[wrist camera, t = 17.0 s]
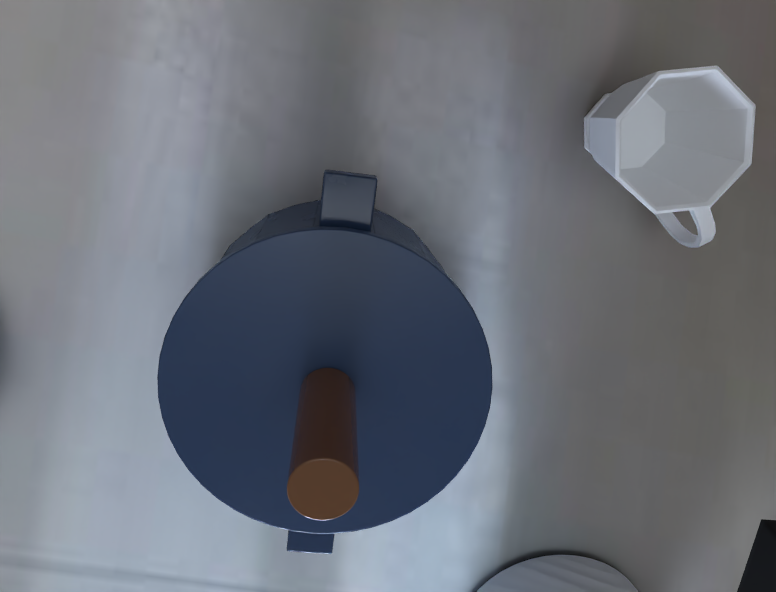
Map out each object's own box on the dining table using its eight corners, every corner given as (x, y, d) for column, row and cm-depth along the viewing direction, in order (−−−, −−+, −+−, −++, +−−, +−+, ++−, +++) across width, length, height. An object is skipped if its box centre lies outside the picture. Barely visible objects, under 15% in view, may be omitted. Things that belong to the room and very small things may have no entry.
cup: (654, 40, 38) (732, 32, 31) (713, 199, 41) (797, 228, 33) (539, 102, 39) (587, 109, 31) (605, 254, 42) (664, 294, 34)
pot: (475, 169, 40) (514, 196, 31) (426, 473, 46) (446, 571, 37) (217, 137, 38) (179, 156, 29) (201, 455, 44) (164, 553, 35)
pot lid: (513, 243, 32) (578, 306, 23) (460, 529, 37) (497, 672, 28) (168, 204, 30) (99, 256, 22) (158, 508, 35) (97, 652, 26)
